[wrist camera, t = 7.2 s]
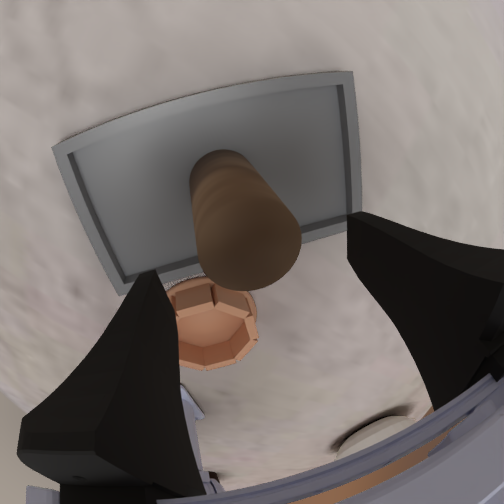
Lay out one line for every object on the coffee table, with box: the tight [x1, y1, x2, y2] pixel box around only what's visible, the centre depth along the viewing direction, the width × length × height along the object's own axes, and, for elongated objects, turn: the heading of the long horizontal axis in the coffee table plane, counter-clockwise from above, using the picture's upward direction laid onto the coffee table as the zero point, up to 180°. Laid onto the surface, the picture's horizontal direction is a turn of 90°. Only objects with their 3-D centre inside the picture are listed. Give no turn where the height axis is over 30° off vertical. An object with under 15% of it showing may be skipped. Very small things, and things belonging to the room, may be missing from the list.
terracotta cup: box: [166, 277, 259, 371], centre depth 23 cm, size 8×8×2 cm
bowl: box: [334, 416, 417, 461], centre depth 49 cm, size 20×20×8 cm
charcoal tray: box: [51, 71, 362, 296], centre depth 18 cm, size 18×11×2 cm, turn 101°
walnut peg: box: [189, 149, 302, 291], centre depth 15 cm, size 4×4×8 cm
